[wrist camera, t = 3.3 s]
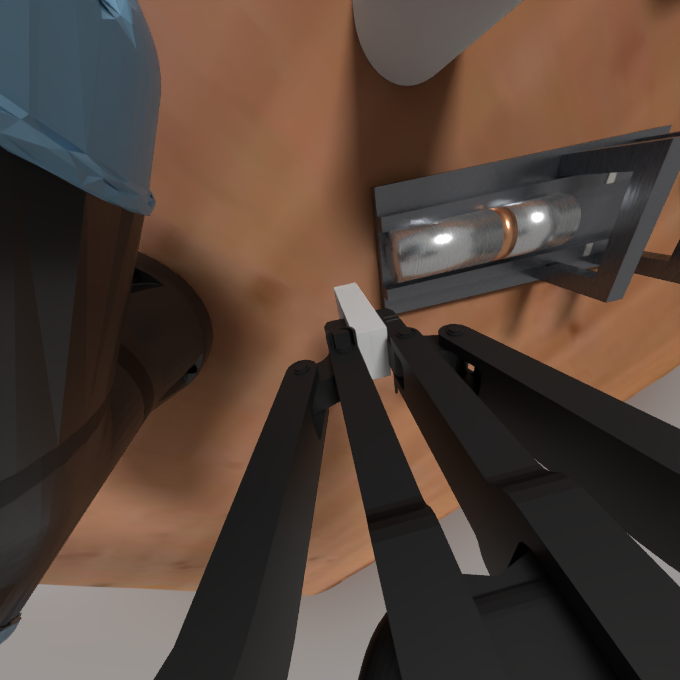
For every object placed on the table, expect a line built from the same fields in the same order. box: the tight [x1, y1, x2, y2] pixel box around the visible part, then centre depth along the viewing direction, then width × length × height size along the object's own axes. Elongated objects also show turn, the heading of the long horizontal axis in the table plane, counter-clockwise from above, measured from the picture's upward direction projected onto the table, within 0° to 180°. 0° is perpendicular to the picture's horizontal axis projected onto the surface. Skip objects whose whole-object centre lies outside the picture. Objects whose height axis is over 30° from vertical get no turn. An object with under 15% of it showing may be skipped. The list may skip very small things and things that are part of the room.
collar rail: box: [371, 125, 680, 314], centre depth 22 cm, size 27×12×8 cm, turn 100°
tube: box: [385, 193, 581, 283], centre depth 22 cm, size 15×4×4 cm, turn 100°
